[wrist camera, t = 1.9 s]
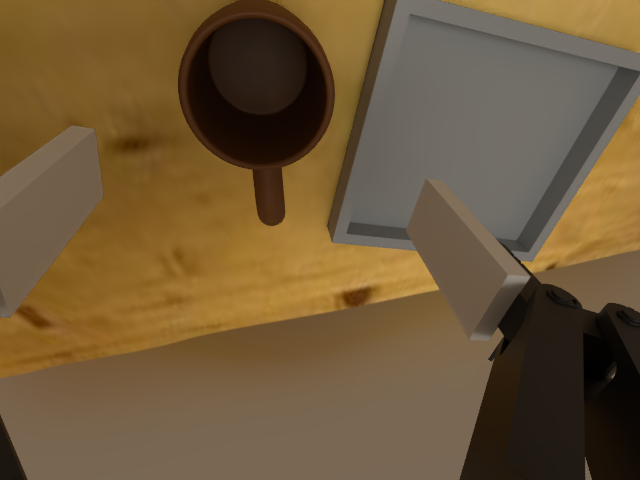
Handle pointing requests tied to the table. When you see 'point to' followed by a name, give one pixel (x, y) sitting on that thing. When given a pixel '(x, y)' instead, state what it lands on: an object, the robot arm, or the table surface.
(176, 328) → the table surface
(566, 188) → the tray
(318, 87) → the mug
